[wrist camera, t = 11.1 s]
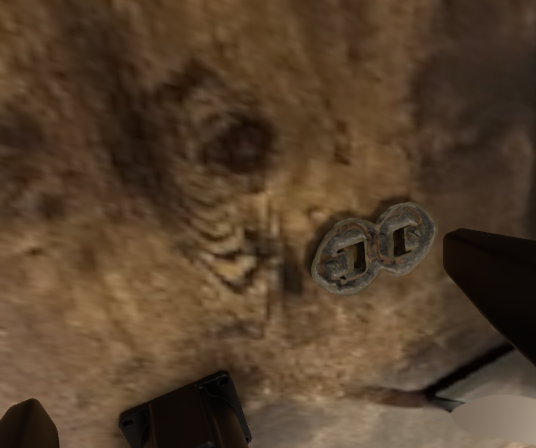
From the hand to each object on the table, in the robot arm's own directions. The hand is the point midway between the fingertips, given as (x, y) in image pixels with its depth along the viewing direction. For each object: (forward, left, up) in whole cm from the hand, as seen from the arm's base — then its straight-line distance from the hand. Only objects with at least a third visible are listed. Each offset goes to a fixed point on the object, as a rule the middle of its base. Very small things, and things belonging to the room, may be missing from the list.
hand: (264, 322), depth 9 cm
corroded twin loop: (-8, -9, -12) cm, 17 cm away
